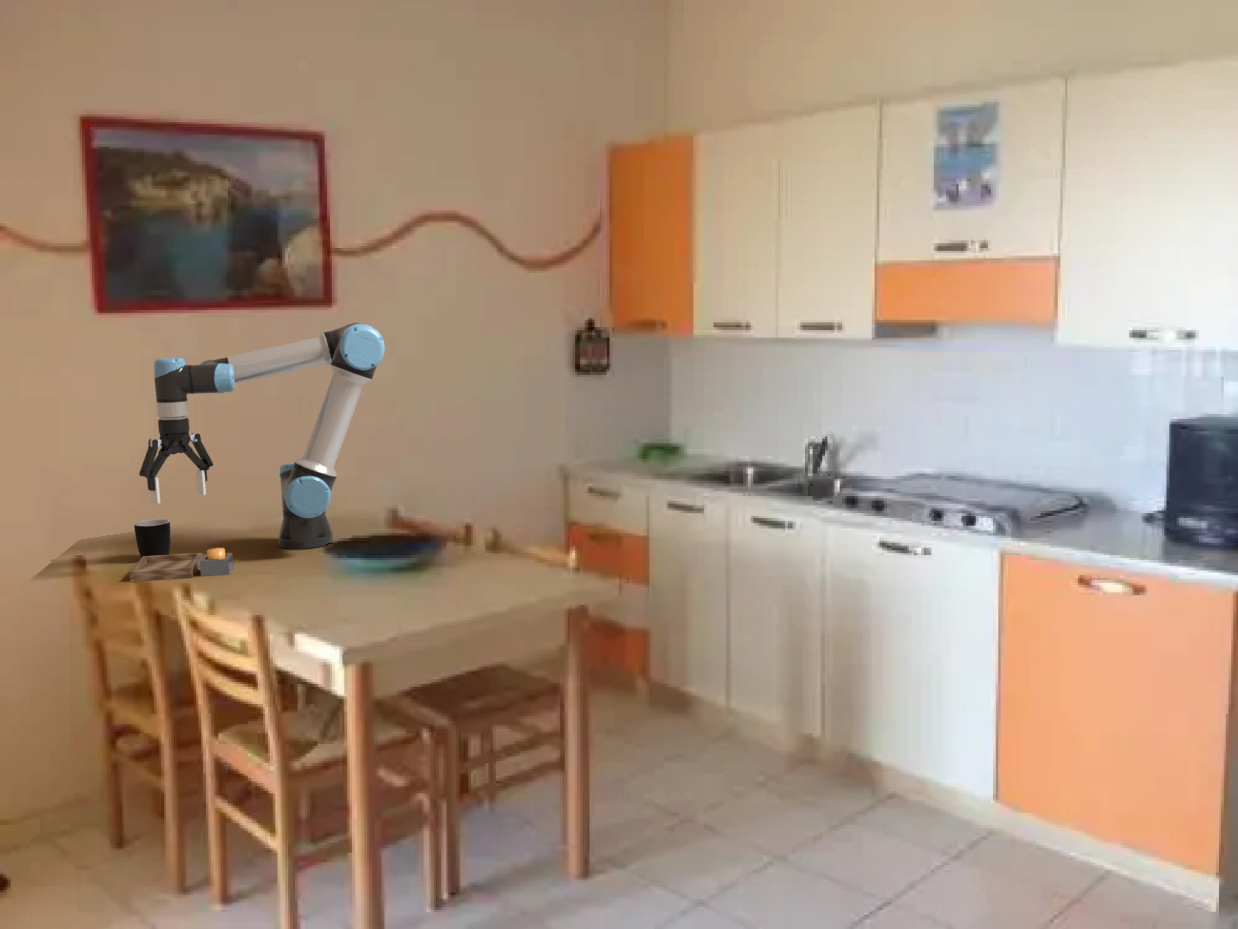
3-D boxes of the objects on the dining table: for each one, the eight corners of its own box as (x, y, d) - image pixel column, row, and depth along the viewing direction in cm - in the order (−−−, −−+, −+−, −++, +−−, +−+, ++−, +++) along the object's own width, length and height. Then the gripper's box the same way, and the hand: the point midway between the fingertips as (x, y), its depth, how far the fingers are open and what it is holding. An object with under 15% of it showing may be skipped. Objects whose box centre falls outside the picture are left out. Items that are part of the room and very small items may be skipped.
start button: (227, 566, 313) (225, 547, 312) (224, 570, 309) (223, 551, 308) (209, 567, 312) (208, 548, 311) (206, 571, 308) (205, 552, 307)
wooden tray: (203, 562, 322) (202, 552, 321) (192, 577, 305) (191, 568, 305) (144, 565, 319) (143, 556, 319) (129, 581, 303) (128, 571, 302)
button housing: (233, 567, 314) (232, 552, 314) (229, 574, 308) (228, 559, 307) (205, 569, 313) (204, 554, 313) (201, 576, 306) (199, 560, 306)
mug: (178, 558, 327) (175, 521, 325) (146, 564, 320) (143, 527, 319) (158, 552, 335) (155, 516, 333) (126, 558, 329) (123, 521, 327)
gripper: (206, 412, 324) (211, 489, 327) (120, 422, 304) (127, 504, 308) (223, 413, 320) (228, 492, 323) (137, 423, 300) (144, 507, 303)
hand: (179, 498), depth 315 cm, fingers open, 13 cm apart
